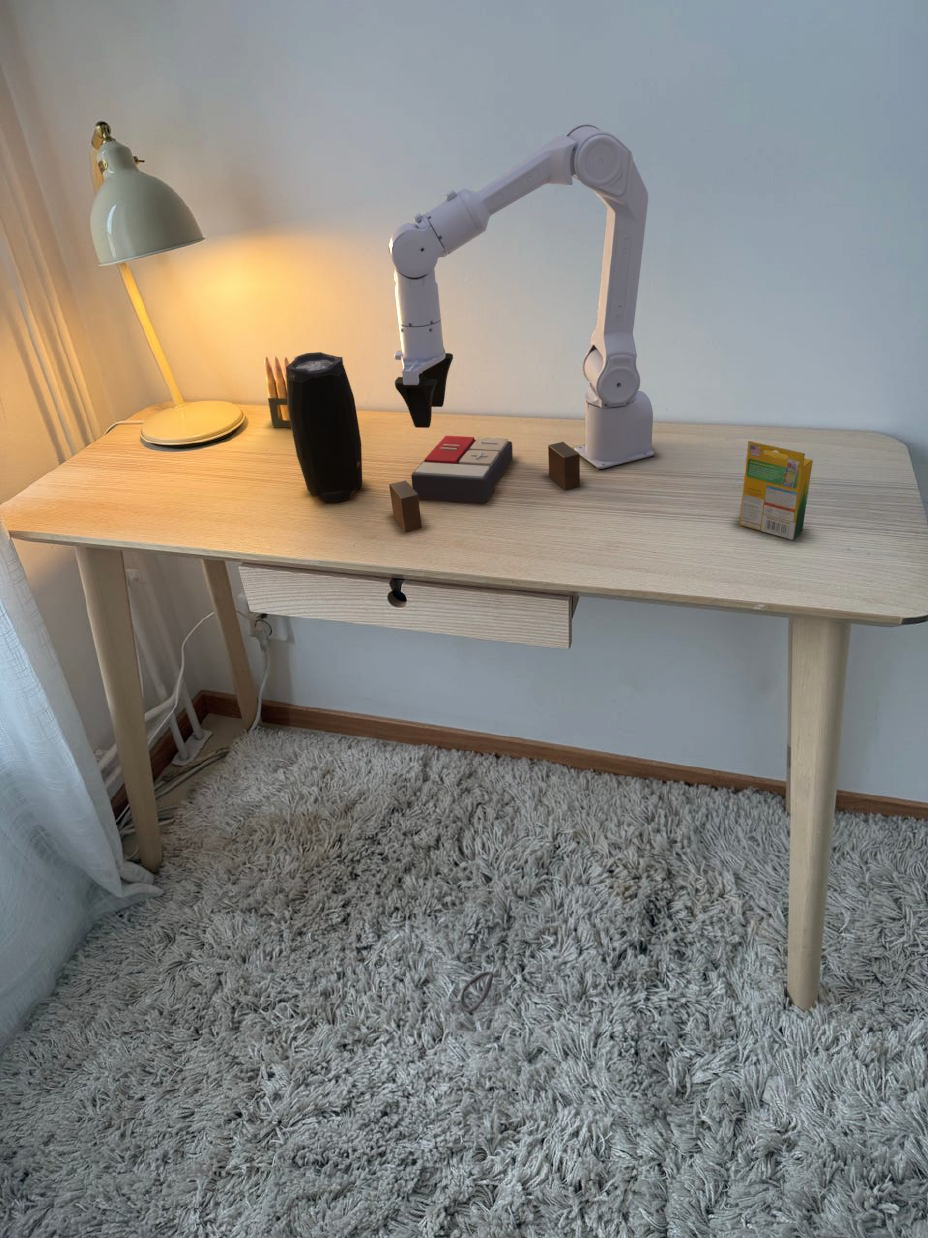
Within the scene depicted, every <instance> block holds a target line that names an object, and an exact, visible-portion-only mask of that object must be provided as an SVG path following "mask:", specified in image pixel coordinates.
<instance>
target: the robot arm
mask: <svg viewBox="0 0 928 1238" xmlns="http://www.w3.org/2000/svg"><path fill="white" fill-rule="evenodd" d="M573 178H574V179H576V180H577V181H579V182H580V183H581V184H582V185H584V186H585V187H586V188H588V189H590V190H591V191H592V192H593V193H594V194H595V195H596V196H597V197H598V199H599V200H601V202H602V203H603V204H604V205H605V207H606V208H607V209H606V210H607V211H606V220H605V229H604V230H605V231H604V243H603V252H602V265H601V276H600V286H599V297H598V307H597V318H596V327H595V329H594V331H593V332H592V334H591V336H590V344H589V348H588V350H587V351H586V353H585V355H584V357H583V359H582V360H583V361H582V366H581V368H582V369H581V370H582V373H583V376H584V378H585V379H586V381H588V382H589V385H588V388H587V390H586V392H585V396H584V400H585V401H584V406H585V407H584V408H585V409H584V411H585V412H584V416H585V418H584V420H585V421H584V423H585V424H584V425H585V426H584V427H585V430H584V431H585V432H584V434H585V435H584V436H585V437H584V438H585V439H584V441H585V443H584V445H580V446H576V447H574V448H573V449H574V450H575V451H576V452H578V453H579V454H580V457H582V458H583V459H584V460H586V461H587V462H588V463H590V464H591V465H593V466H594V467H595V468H597V469H598V470H603V469H607V468H610V467H614V466H618V465H623V464H626V463H631V462H634V461H637V460H641V459H642V460H643V459H645V458H649V457H653V456H654V455H655V451H653V449H652V447H653V424H654V423H653V422H654V411H653V405H652V403H651V399H650V398H649V396H648V395H647V394H646V392H643V391H642V390H640V387H641V376H640V373H639V370H638V368H637V357H638V354H637V348H636V342H635V338H634V328H635V318H636V311H637V310H636V309H637V301H638V291H639V283H640V276H641V275H640V274H641V267H642V257H643V249H644V240H645V231H646V221H647V213H648V206H649V205H648V204H649V192H648V189H647V187H646V185H645V183H644V181H643V179H642V176H641V174H640V172H639V169H638V167H637V165H636V163H635V161H634V155H633V151H632V150H631V149H630V148H629V147H628V146H627V145H625V143H624V142H622V140H620V139H619V138H618V137H617V136H616V135H614V134H612V133H611V132H608V131H603V130H602V129H600V128H599V127H597V126H596V125H593V124H589V123H588V124H587V123H586V124H579V125H576V126H574V127H573V128H571V129H570V130H569V131H568V132H567V133H566V134H565V133H564V134H561V135H558V136H556V137H554V138H552V139H550V140H549V141H547V142H546V143H545V144H543V145H542V146H540V147H539V148H538V149H536V150H534V151H533V152H532V153H530V154H529V155H528V156H526V157H525V158H523V159H522V160H521V161H519V162H518V163H516V164H515V165H513V166H512V167H511V168H509V169H507V171H505V172H503V173H502V174H501V175H499V176H498V177H497V178H495V179H494V180H492V181H491V182H489V183H488V184H486V185H485V186H484V187H482V188H481V189H480V190H478V191H474V190H469V189H467V188H462V189H460V190H459V191H457V192H456V191H455V190H454V189H451V190H449V191H448V192H446V193H445V194H444V196H445V200H444V201H441V203H439V204H437V205H436V206H435V207H433V208H431V209H430V210H428V211H426V212H425V213H424V214H421V213H420V212H418V213H416V214H415V215H413V216H412V217H413V218H412V219H413V221H414V222H407V223H403V224H401V225H400V226H398V227H396V229H395V230H394V231H393V232H392V235H391V237H390V240H389V246H388V252H389V255H390V257H391V260H392V264H393V266H394V272H393V279H394V282H395V287H394V293H395V302H396V311H397V319H398V321H397V322H398V328H399V336H400V337H399V339H400V344H401V346H400V347H401V350H397V351H396V352H395V353H394V354H393V357H394V360H395V361H401V364H402V370H401V376H397V378H396V379H395V380H394V386H395V389H396V390H397V392H398V393H399V395H401V397H402V399H403V401H404V403H405V405H406V407H407V409H408V412H409V415H410V417H411V421H412V423H413V426H414V427H415V428H417V429H419V428H420V429H421V428H422V429H429V428H430V427H431V424H432V415H433V413H432V412H433V408H443V406H444V403H445V397H446V388H447V382H448V381H447V380H448V375H449V371H450V367H451V365H452V362H453V359H454V354H452V353H450V352H446V349H445V347H444V338H443V328H442V316H441V306H440V305H441V304H440V295H439V285H438V282H437V281H436V271H435V268H436V265H437V264H438V259H440V258H446V257H447V256H448V255H451V254H452V253H453V252H455V251H456V250H458V249H460V248H461V247H463V246H464V245H466V244H467V243H469V242H470V241H472V240H474V239H476V238H477V237H479V236H480V235H482V234H483V233H484V232H486V231H487V228H488V224H489V221H490V218H491V216H493V215H494V214H496V213H498V212H499V211H502V210H503V209H504V208H506V207H508V206H510V205H511V204H513V203H515V202H516V201H518V200H521V199H522V198H524V197H525V196H527V195H529V194H530V193H532V192H534V191H536V190H538V189H540V188H541V187H542V186H545V185H547V184H548V185H564V186H572V185H573V184H574V183H573Z"/></svg>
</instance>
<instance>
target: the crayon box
mask: <svg viewBox="0 0 928 1238" xmlns="http://www.w3.org/2000/svg"><path fill="white" fill-rule="evenodd" d="M746 451H747V452H746V453H747V454H746V458H745V459H746V460H745V469H744V478H743V486H742V495H741V505H740V513H739V521H738V524H739V526H740V527H744V528H749V529H753V530H756V531H759V532H764V533H768V534H770V535H773V536H778V537H781V538H785V539H788V540H790V541H793V540H794V539H796V537H798V536H799V535H800V534H801V533H803V531H804V523H805V516H806V509H807V502H808V496H809V491H810V490H809V489H810V483H811V475H812V468H813V459H810V458H806V457H805V456H806V453H805V452H801V451H796V450H791V449H787V448H782V447H778V446H774V445H771V444H770V445H769V444H765V443H760V442H755V441H751V440H748V442H747V450H746Z"/></svg>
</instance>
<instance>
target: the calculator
mask: <svg viewBox="0 0 928 1238" xmlns="http://www.w3.org/2000/svg"><path fill="white" fill-rule="evenodd" d="M513 459H514V453H513V442H512V441H510V440H509V439H508V438H503V437H502V438H499V437H478V438H477V439H475V437H474V436H463V435H461V436H460V435H444V437H442V438H441V440H440V441H439V442H438V443H437V445H436V446H435V447H433V449H432V450H431V451H430V452H429V453H428V454H427V455H426V457H425V458H424V460H423V461H422V462H421V463H420V464H419V465H418V466H417V467H416V469H415V470H414V471H413V472H412V473H411V474H410V478H411V487H412V488H413V489H414V490H415V492H416V493H417V494H418V498H419V499H423V500H435V501H447V502H448V501H450V502H463V503H474V504H475V503H476V504H477V503H478V504H487V502H488V501H489V499H491V497H492V495H493V494H494V492H495V487H496V485H497V484H498V482H499V481H500V479H501V478H502V477H503V475H504V474H505V472H506V470H507V469H508V468H509V466H510V465H511V463H512V462H513Z"/></svg>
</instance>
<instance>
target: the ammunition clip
mask: <svg viewBox="0 0 928 1238" xmlns="http://www.w3.org/2000/svg"><path fill="white" fill-rule="evenodd" d="M296 357H297V356H294V357H293V360H294V359H295V358H296ZM263 362H264V363H263V364H264V372H265V383H266V389H267V395H268V398H267V400H268V407H269V413H270V420H271V421H270V422H271V426H272V427H273V428H291V423H290V418H289V413H288V407H287V381H286V367H287V366H288V365H289V364H290V361H289V358H288V357H287V356H284V357H283V370H282V366H281V363H280V360H279V359H278V357H277V356H274V357H273V368H272V364H271V362H270V360H269V358H268V356H266V355H265V356H264V361H263ZM273 369H274V371H273ZM283 372H284V374H283Z"/></svg>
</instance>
